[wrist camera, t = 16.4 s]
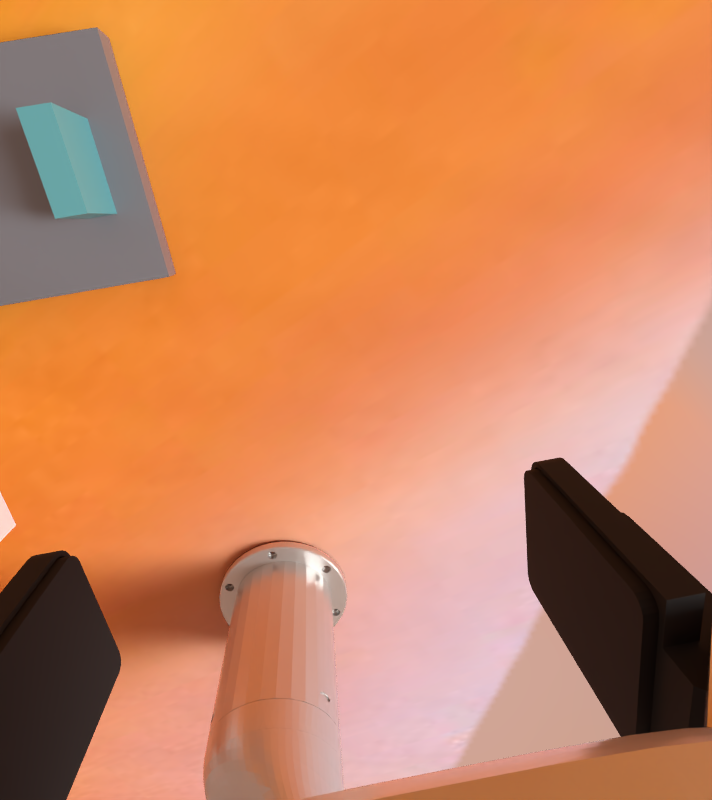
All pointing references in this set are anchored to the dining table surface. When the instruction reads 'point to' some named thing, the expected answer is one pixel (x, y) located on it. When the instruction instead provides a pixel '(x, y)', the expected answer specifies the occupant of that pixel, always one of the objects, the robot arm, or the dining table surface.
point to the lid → (71, 173)
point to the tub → (5, 519)
